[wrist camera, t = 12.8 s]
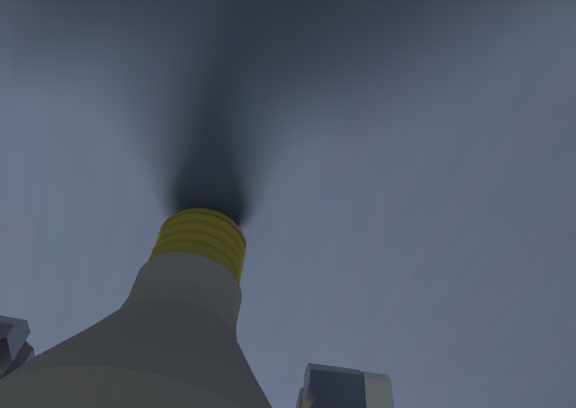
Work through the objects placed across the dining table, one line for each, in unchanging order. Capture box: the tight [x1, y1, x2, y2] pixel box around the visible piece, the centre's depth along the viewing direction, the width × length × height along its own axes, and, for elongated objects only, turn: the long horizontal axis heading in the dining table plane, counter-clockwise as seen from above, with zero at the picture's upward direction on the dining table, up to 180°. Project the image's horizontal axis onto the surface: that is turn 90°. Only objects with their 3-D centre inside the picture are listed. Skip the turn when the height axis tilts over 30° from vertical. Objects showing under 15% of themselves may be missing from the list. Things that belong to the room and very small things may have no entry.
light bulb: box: [0, 208, 272, 408], centre depth 9 cm, size 5×6×10 cm
